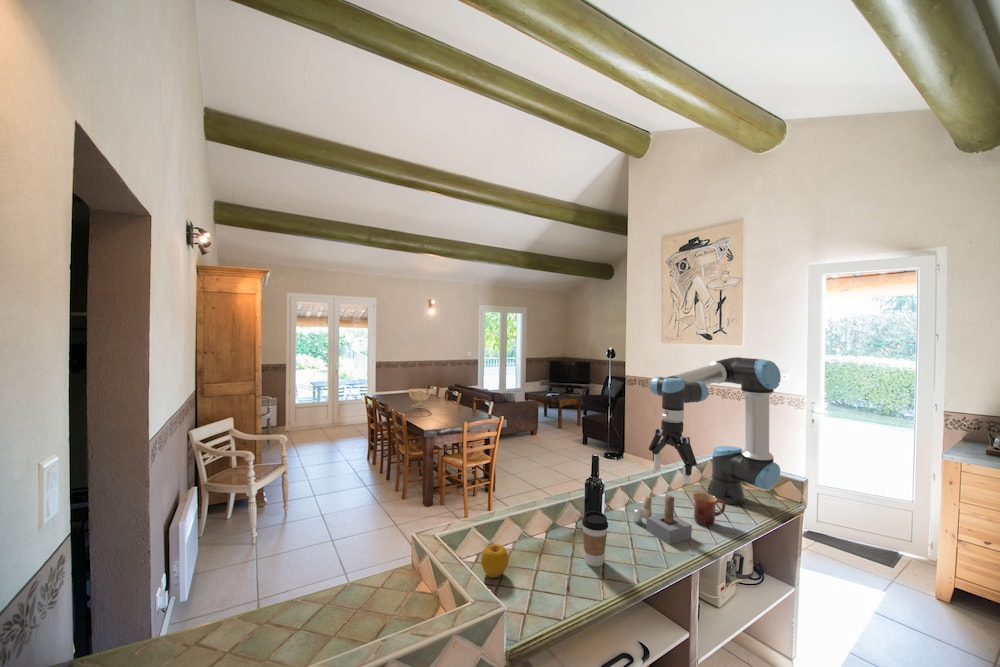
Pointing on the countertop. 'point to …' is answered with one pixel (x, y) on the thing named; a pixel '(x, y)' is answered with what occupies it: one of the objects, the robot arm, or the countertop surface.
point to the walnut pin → (669, 510)
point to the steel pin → (638, 516)
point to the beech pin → (647, 506)
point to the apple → (494, 560)
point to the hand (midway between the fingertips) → (671, 476)
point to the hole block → (669, 529)
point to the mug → (706, 508)
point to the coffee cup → (594, 537)
